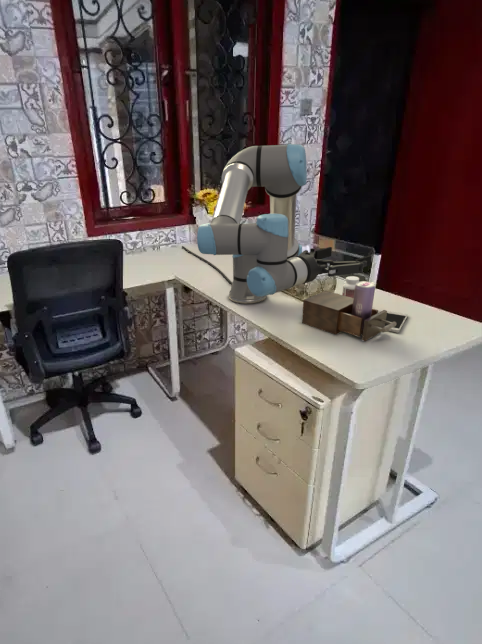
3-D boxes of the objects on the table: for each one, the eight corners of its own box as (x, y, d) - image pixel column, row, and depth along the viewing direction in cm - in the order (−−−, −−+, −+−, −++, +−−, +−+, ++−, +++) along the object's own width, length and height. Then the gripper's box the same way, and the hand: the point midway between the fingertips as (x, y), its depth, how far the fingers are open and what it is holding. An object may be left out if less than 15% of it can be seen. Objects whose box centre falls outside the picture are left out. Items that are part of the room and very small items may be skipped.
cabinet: (357, 323, 144) (360, 299, 140) (335, 334, 137) (338, 310, 133) (323, 312, 154) (325, 290, 150) (301, 323, 147) (303, 299, 143)
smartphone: (407, 316, 147) (408, 313, 147) (398, 332, 136) (398, 330, 135) (386, 312, 151) (386, 310, 150) (375, 328, 140) (376, 326, 139)
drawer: (398, 334, 133) (401, 314, 130) (379, 346, 127) (382, 325, 124) (350, 319, 145) (352, 301, 142) (330, 329, 139) (332, 310, 136)
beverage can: (372, 327, 136) (379, 283, 129) (362, 332, 133) (368, 288, 126) (356, 322, 140) (361, 279, 134) (346, 327, 137) (351, 284, 130)
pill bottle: (361, 306, 158) (365, 278, 153) (350, 310, 155) (353, 281, 150) (349, 301, 163) (352, 274, 158) (337, 305, 160) (340, 277, 155)
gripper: (265, 274, 121) (315, 260, 131) (335, 296, 102) (386, 277, 113) (266, 248, 117) (316, 236, 128) (338, 266, 99) (390, 250, 109)
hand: (349, 255), depth 120 cm, fingers open, 13 cm apart
